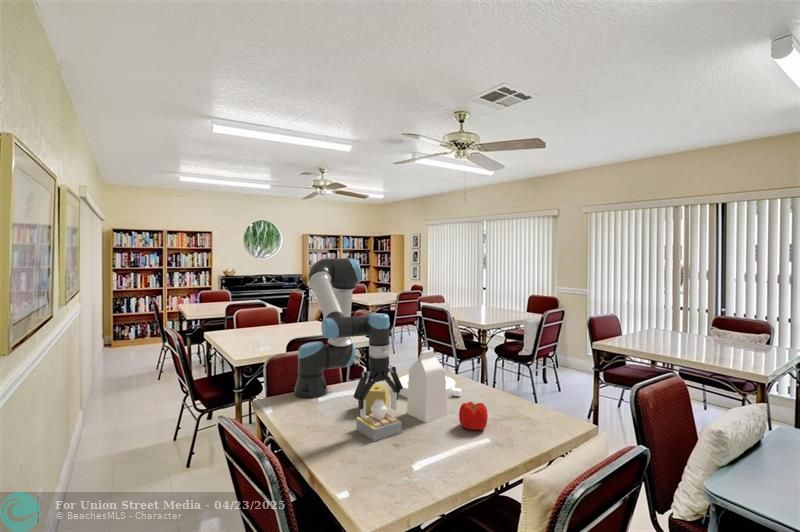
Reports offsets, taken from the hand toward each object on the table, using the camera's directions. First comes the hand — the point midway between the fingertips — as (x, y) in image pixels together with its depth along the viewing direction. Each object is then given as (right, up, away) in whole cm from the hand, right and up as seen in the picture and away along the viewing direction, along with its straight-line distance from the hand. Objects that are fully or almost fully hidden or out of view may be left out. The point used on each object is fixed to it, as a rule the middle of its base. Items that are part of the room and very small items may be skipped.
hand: (378, 413), depth 148 cm
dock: (0, -7, 0) cm, 7 cm away
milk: (+19, -7, +17) cm, 26 cm away
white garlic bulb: (0, -2, 0) cm, 2 cm away
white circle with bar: (+21, -7, +46) cm, 51 cm away
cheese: (-3, -7, +21) cm, 22 cm away
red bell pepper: (+36, -7, +4) cm, 37 cm away
